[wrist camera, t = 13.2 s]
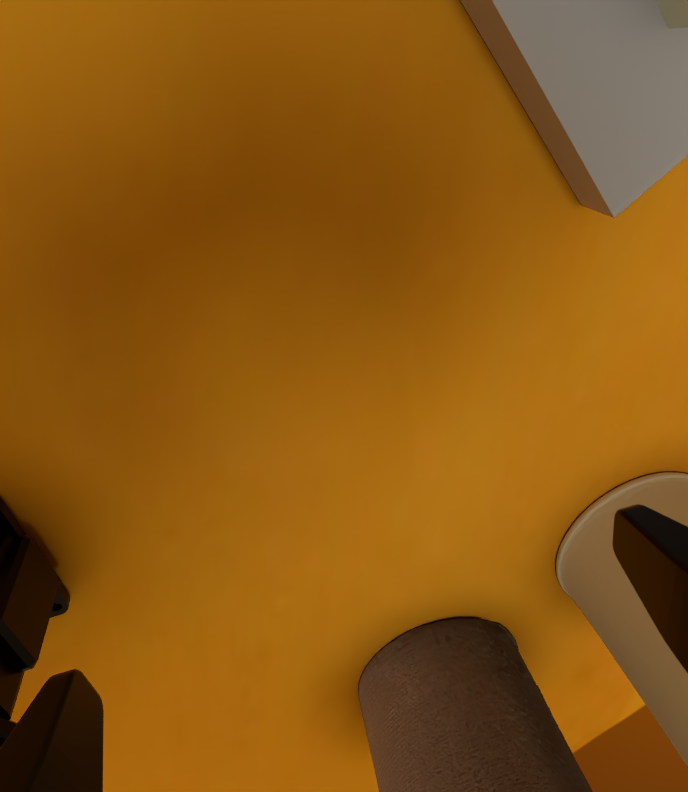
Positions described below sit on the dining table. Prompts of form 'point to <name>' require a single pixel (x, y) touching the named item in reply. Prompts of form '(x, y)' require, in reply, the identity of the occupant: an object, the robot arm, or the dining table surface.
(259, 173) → the dining table surface
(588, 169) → the tile
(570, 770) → the pillar candle
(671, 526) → the robot arm
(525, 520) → the dining table surface
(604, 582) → the can
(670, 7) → the pale green square pillar
